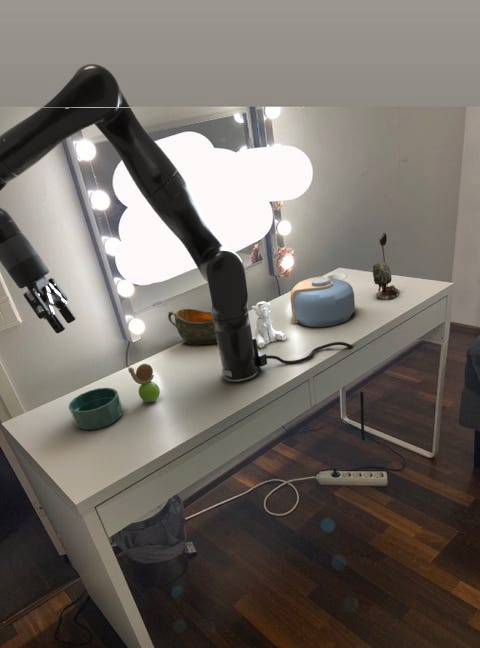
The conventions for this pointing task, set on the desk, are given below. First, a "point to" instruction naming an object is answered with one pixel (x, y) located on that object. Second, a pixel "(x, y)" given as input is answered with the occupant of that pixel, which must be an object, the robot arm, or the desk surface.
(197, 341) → the cup
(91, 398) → the bowl
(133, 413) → the desk surface
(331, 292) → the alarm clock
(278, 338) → the seated beast figurine
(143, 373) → the snail figurine
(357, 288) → the desk surface
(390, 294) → the plant with pod
